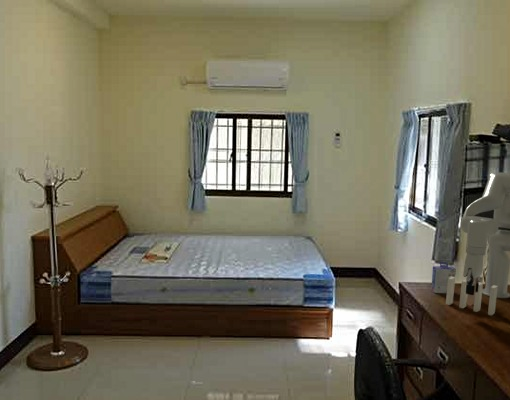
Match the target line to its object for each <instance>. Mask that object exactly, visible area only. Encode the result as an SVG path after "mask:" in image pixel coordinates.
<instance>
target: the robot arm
mask: <svg viewBox="0 0 510 400" xmlns="http://www.w3.org/2000/svg"><path fill="white" fill-rule="evenodd" d="M490 211H493V218H491V217H490V218H489V217H483V216H476V215H478V214H481V213H484V212H490ZM460 228H461V230H462V232H464V233H465V234H466V243H465V245H466V246H465V253H466V256H465V261H464V267H463V273H462V274H463V275H462V276H463V278H465V279H466V281H467V283H466V294H469V295H474V290H475V286H474V282H475V278H477V281H476V291H475V292H478V286H479V276H480V275H481V276H482V274H483V268H484V256H486V252H487V242H488V258H487V267H486V268H487V269H486V276H485V278H486V280H485V288H482V295H484V296H487V297H490V288H491V287H492V286H493V285H495V286H498V287H497V296H496V299H507V298H508V299H509V298H510V292H508V284H509V276H510V275H509V273H510V256H509V255H508V253H507V252H510V230H506V229H510V172H492V173H489V175H488V179H487V183H486V185H485V188H484V191H483V192H482V196H481V197H479V198H478V199H476V200H474V201H473V202H471V203H470V204H469V205H468V206H467V207H466V209H465V211H464V212H463V215H462V218H461V223H460ZM499 228H505V229H499ZM471 276H473V278H471ZM471 279H473V281H472V280H471Z"/></svg>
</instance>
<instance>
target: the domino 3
mask: <svg viewBox="0 0 510 400" xmlns="http://www.w3.org/2000/svg"><path fill="white" fill-rule="evenodd" d="M471 278H473V276H471ZM471 280H472V281H473V279H471ZM476 281H477V278H475V282H474V286H475V290H474V295H469V294H468V299H467V304H466V306H467V305H468V306H474V302H475V291H476Z"/></svg>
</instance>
